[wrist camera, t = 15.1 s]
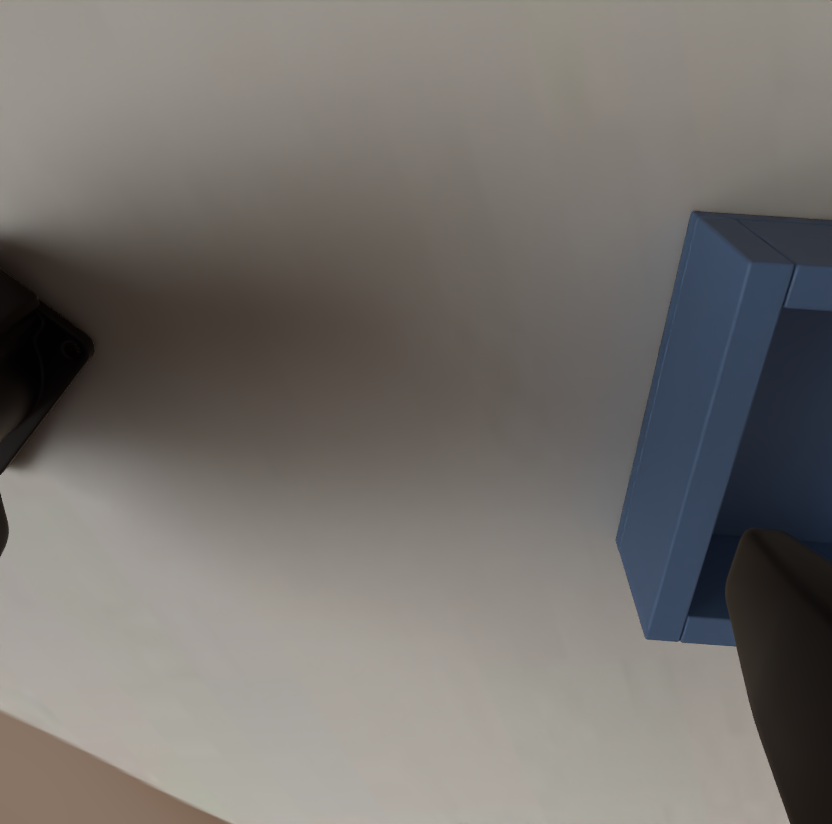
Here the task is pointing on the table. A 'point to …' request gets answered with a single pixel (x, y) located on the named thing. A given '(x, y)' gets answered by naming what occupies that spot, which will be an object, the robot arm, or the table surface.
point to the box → (732, 418)
